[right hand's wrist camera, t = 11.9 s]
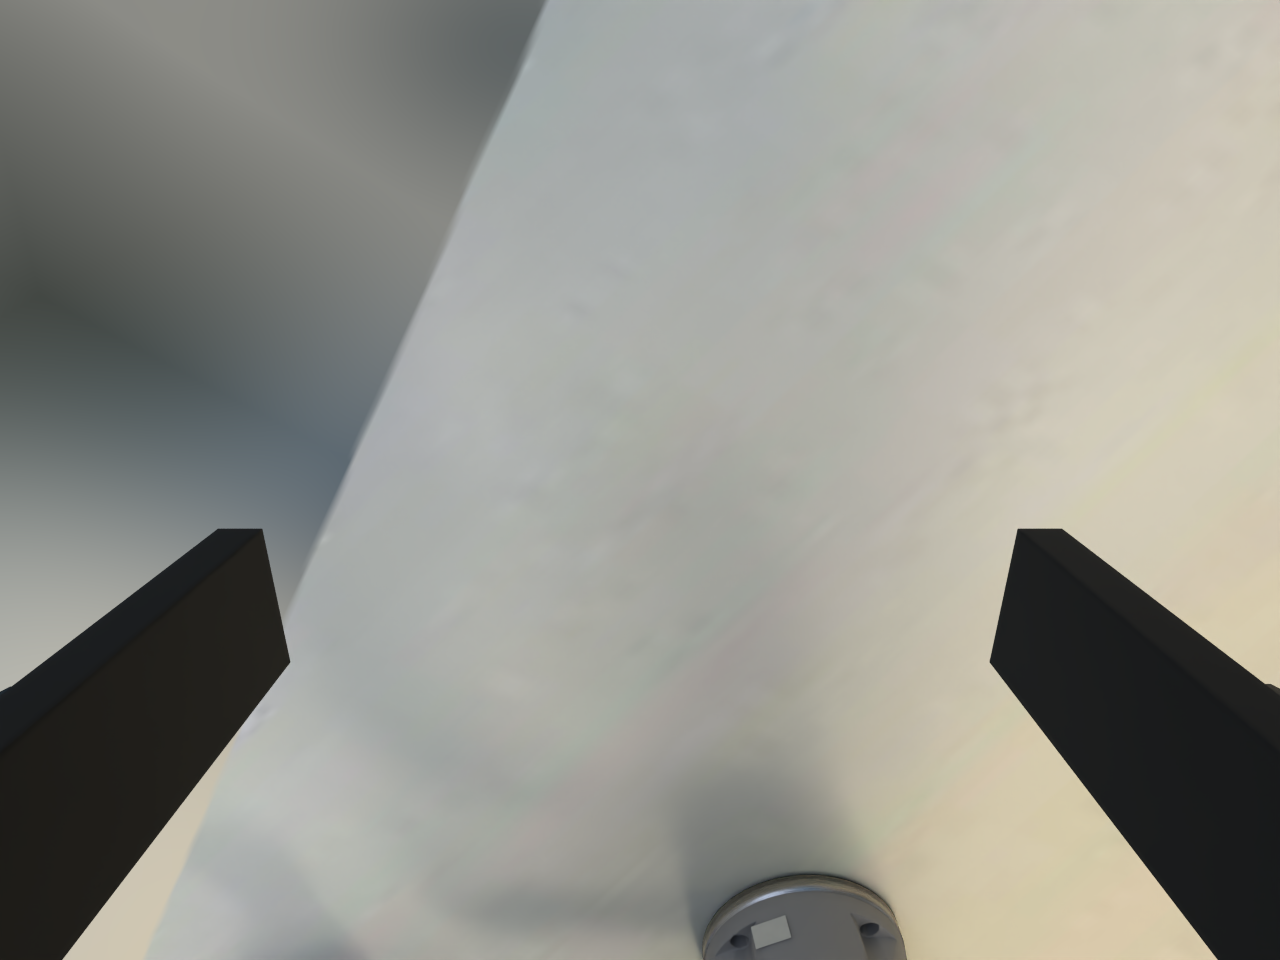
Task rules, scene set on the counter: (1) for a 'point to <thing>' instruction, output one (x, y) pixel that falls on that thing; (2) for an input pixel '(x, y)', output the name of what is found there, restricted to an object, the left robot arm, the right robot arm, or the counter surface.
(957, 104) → the counter surface
